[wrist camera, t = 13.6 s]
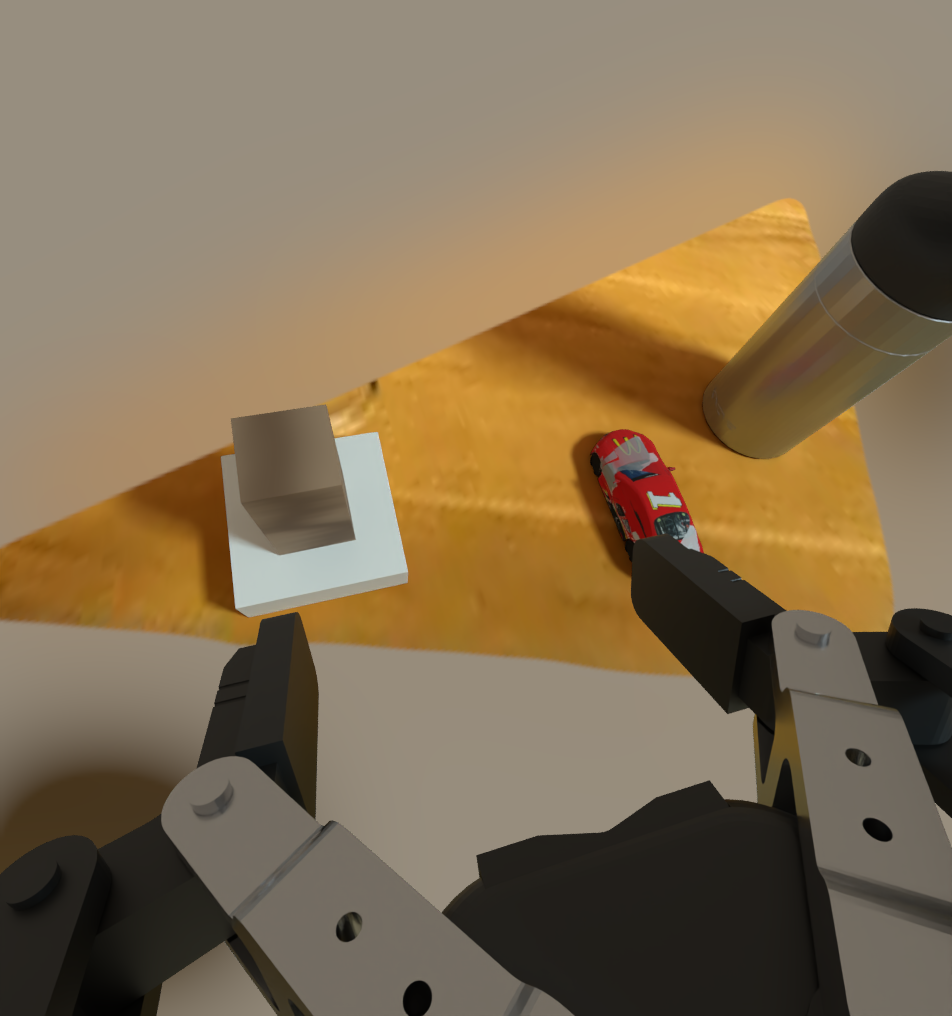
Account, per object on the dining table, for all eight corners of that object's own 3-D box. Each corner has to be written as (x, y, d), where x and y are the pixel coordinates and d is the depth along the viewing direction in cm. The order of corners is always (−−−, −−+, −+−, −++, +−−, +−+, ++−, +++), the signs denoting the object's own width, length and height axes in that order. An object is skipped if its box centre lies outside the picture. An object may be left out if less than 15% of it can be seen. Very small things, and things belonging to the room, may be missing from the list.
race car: (579, 444, 45) (595, 419, 41) (635, 434, 46) (656, 409, 42) (635, 592, 40) (659, 578, 36) (696, 576, 41) (725, 562, 38)
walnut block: (343, 475, 37) (326, 404, 29) (355, 539, 36) (341, 484, 27) (270, 487, 36) (230, 418, 28) (279, 555, 34) (240, 503, 26)
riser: (379, 451, 42) (377, 431, 39) (407, 582, 38) (408, 571, 35) (233, 474, 39) (220, 456, 37) (248, 617, 36) (235, 608, 33)
